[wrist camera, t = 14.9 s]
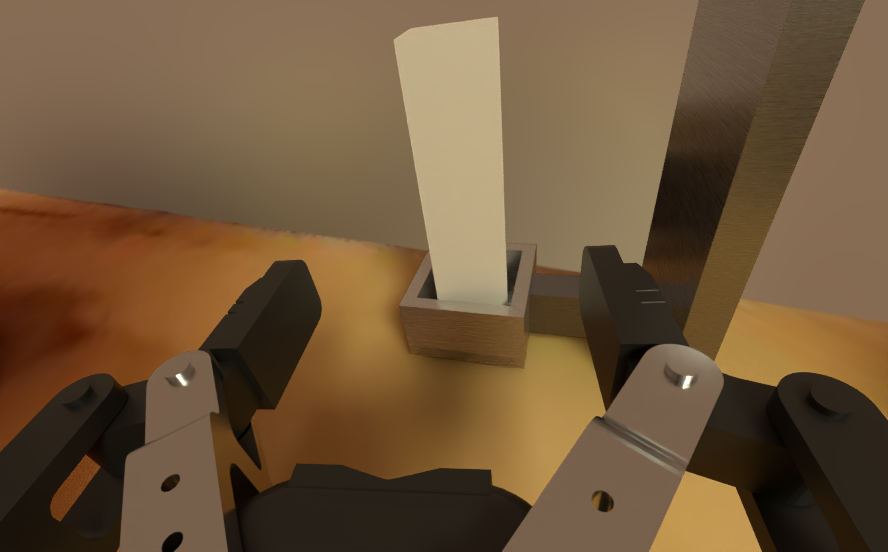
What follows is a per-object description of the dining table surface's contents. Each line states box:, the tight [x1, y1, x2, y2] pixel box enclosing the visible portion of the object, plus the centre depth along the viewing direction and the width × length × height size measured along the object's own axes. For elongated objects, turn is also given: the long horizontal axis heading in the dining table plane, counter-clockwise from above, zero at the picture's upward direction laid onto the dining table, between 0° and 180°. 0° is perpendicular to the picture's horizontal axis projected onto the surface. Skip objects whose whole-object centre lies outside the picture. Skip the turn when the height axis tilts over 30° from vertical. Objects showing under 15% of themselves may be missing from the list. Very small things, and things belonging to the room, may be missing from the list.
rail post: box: [394, 17, 508, 306], centre depth 21 cm, size 4×4×16 cm
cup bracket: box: [399, 0, 865, 369], centre depth 20 cm, size 15×10×22 cm, turn 74°
